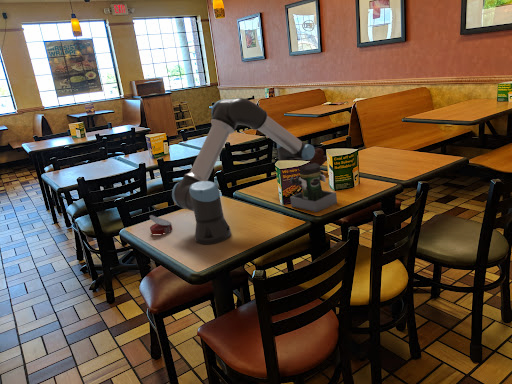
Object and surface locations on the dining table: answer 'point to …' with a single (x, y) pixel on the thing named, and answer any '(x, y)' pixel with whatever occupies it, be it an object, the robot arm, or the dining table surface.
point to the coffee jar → (311, 182)
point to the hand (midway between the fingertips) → (315, 181)
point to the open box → (317, 205)
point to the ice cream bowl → (318, 157)
